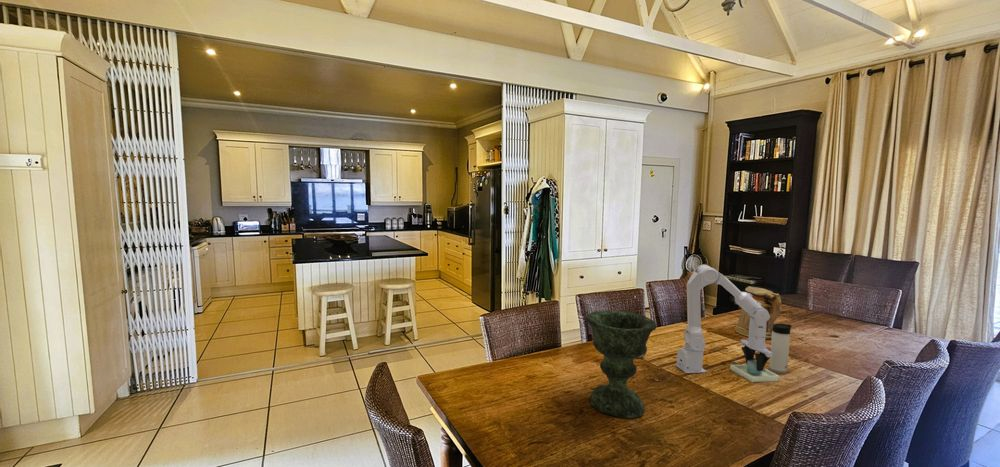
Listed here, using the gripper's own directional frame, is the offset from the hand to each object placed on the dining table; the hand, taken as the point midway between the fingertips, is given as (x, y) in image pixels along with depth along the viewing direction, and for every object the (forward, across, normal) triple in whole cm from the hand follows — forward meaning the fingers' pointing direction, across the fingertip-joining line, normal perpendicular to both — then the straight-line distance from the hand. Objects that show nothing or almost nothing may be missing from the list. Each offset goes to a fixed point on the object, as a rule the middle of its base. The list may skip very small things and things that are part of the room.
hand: (754, 367), depth 165 cm
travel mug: (+3, +3, -14) cm, 15 cm away
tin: (+3, +23, +43) cm, 49 cm away
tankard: (+3, +45, -41) cm, 61 cm away
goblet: (+3, -17, +67) cm, 69 cm away
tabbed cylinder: (+2, 0, 0) cm, 2 cm away
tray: (+3, 0, 0) cm, 3 cm away
